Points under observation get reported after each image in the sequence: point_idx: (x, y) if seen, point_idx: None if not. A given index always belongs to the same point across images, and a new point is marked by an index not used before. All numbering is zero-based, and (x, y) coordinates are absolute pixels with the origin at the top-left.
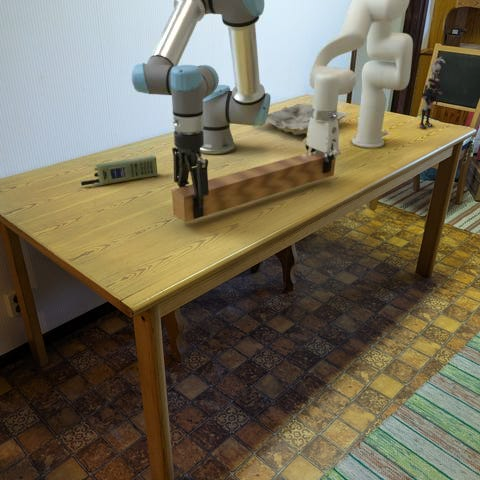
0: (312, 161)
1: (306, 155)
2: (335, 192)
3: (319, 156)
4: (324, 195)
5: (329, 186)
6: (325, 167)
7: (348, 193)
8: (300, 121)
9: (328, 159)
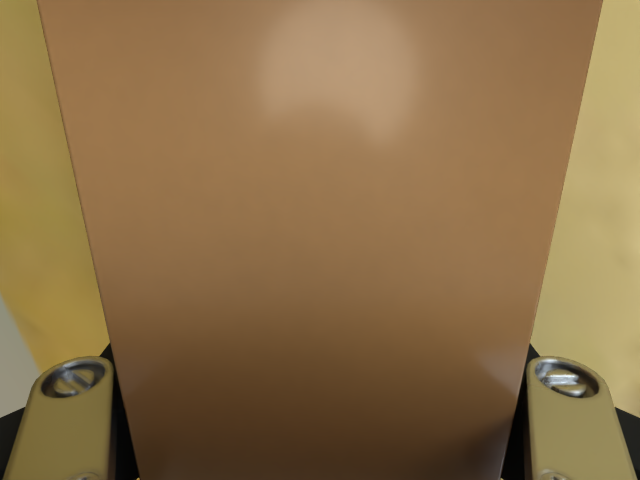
0: (57, 30)
1: (440, 183)
2: (75, 214)
3: (210, 368)
4: None
5: None
6: None
7: (13, 281)
8: None
9: (37, 408)
